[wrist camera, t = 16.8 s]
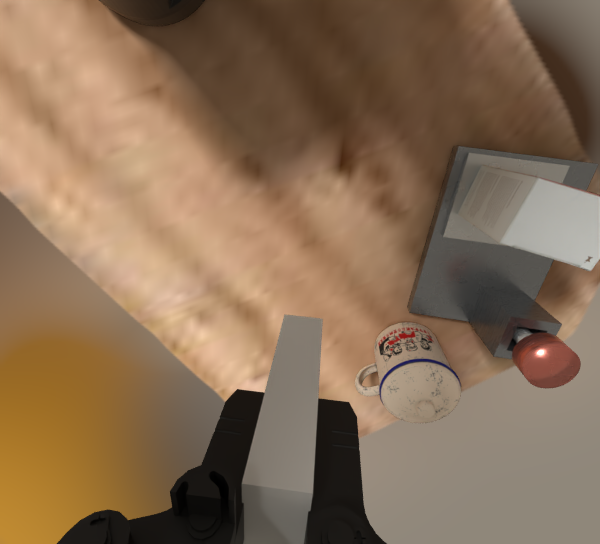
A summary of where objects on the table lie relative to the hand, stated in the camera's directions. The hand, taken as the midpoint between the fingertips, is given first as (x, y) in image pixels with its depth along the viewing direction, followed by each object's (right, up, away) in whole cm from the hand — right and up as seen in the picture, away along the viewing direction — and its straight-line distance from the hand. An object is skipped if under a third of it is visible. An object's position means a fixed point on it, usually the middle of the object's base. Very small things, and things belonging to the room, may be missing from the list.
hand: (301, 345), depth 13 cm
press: (+22, +6, +25) cm, 34 cm away
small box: (+22, +11, +22) cm, 32 cm away
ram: (+24, -2, +26) cm, 36 cm away
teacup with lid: (+13, -8, +33) cm, 36 cm away
